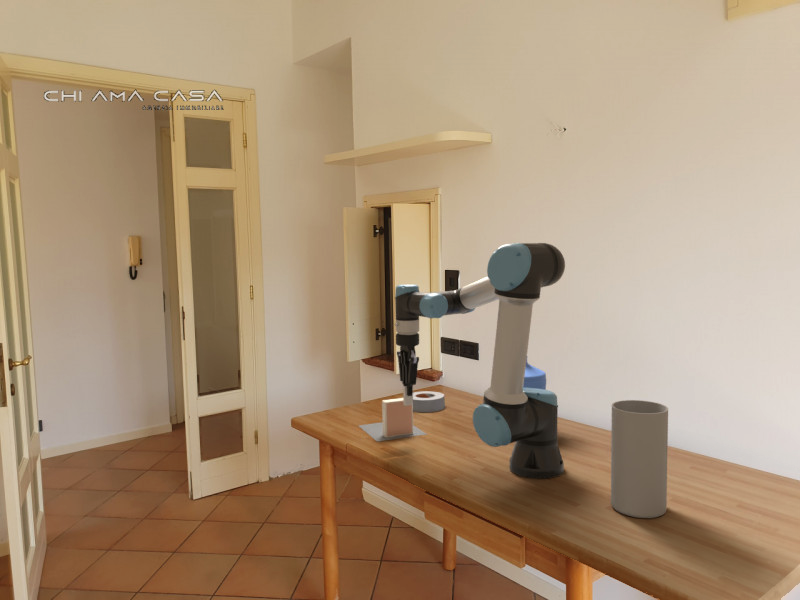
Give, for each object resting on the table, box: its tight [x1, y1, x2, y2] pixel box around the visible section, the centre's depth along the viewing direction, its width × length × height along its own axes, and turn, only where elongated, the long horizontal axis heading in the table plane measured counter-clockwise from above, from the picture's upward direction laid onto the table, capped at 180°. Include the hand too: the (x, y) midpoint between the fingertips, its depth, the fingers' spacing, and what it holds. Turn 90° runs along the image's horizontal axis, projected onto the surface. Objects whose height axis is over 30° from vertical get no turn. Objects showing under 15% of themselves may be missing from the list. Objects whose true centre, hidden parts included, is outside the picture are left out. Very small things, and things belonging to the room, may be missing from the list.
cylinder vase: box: [610, 399, 669, 519], centre depth 146 cm, size 12×12×25 cm
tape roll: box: [413, 390, 446, 413], centre depth 244 cm, size 15×15×5 cm
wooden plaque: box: [381, 397, 414, 438], centre depth 207 cm, size 3×10×12 cm, turn 112°
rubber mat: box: [358, 422, 427, 442], centre depth 213 cm, size 20×18×1 cm
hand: (408, 404), depth 198 cm, fingers closed
